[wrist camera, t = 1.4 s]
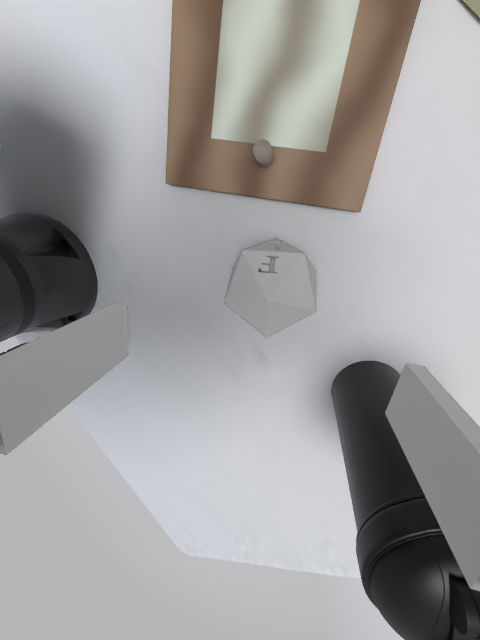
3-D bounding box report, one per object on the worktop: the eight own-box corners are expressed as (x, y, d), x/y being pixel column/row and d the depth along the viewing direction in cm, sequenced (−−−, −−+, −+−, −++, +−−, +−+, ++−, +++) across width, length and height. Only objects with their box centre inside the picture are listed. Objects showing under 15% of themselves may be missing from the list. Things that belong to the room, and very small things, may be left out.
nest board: (170, 184, 30) (152, 179, 26) (182, -83, 22) (159, -148, 18) (357, 212, 27) (368, 210, 23) (438, -76, 20) (474, -147, 16)
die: (317, 238, 29) (330, 246, 20) (307, 317, 32) (314, 356, 23) (239, 234, 30) (216, 241, 21) (236, 310, 33) (216, 345, 24)
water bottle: (322, 420, 37) (366, 699, 15) (327, 352, 33) (394, 590, 12) (404, 427, 35) (584, 754, 13) (419, 356, 31) (692, 644, 10)
